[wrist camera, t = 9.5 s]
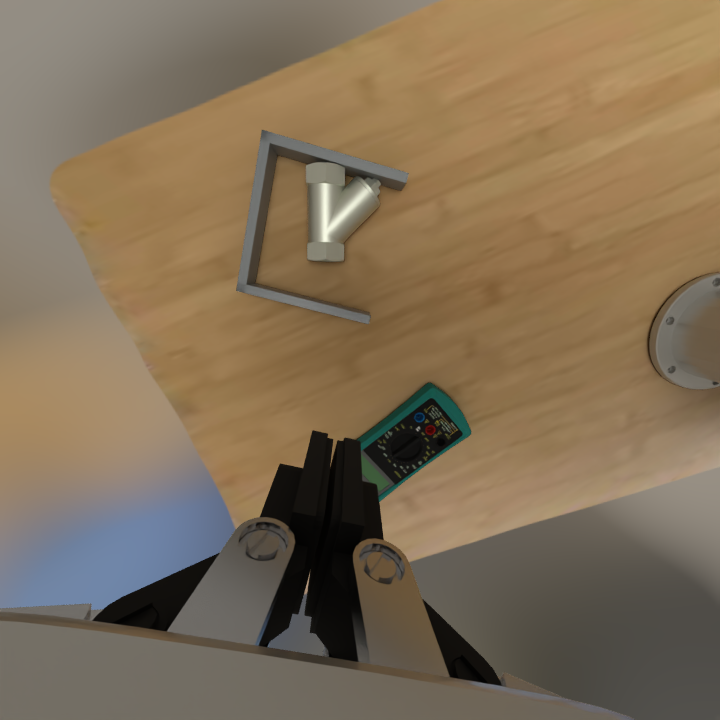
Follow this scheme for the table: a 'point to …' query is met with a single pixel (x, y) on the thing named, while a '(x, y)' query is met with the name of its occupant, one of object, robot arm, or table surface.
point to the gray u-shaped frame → (260, 203)
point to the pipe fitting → (335, 209)
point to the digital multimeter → (411, 438)
